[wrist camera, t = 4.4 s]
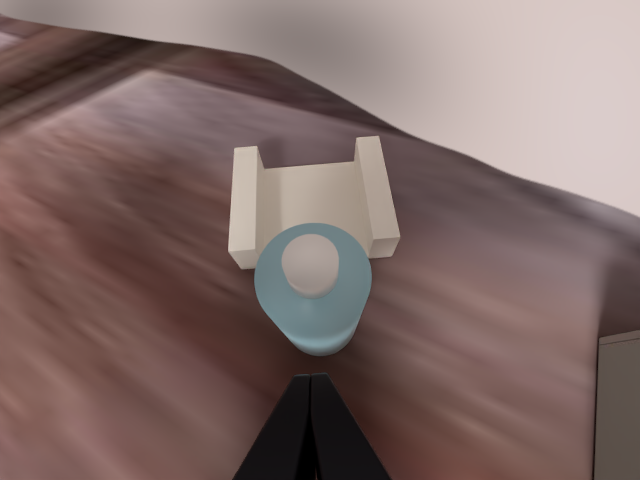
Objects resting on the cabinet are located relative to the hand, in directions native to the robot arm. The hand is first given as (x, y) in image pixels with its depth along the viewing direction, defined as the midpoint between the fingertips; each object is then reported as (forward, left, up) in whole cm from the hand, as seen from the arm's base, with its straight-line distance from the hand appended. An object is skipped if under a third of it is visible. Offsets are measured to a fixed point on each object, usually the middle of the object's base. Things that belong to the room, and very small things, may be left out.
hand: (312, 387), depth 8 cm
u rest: (+12, -1, -11) cm, 16 cm away
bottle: (+4, 0, -11) cm, 12 cm away
